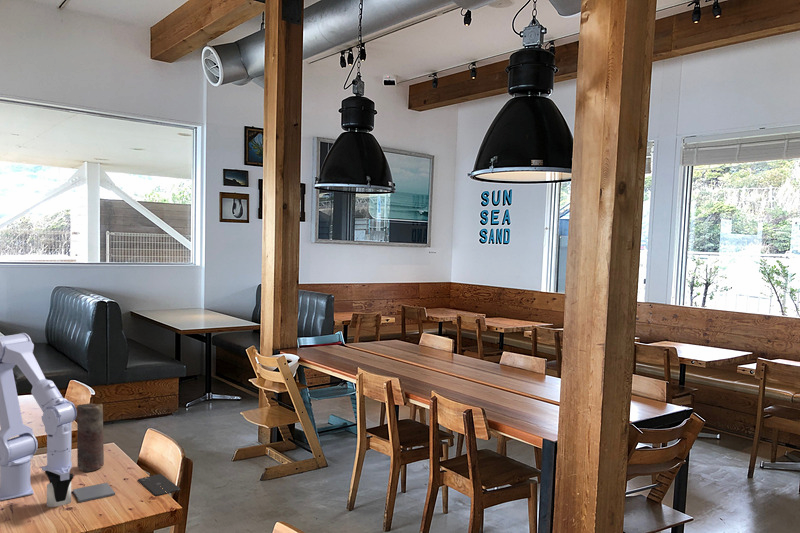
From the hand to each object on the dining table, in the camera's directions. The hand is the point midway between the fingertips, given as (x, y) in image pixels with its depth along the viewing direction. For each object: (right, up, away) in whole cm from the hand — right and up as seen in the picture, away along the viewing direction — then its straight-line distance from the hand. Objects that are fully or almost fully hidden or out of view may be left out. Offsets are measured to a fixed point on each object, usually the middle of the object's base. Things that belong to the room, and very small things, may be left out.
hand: (59, 498), depth 168 cm
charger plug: (0, -1, 0) cm, 1 cm away
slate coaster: (+6, -1, +7) cm, 9 cm away
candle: (-4, 0, +26) cm, 26 cm away
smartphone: (+21, -2, +14) cm, 26 cm away
